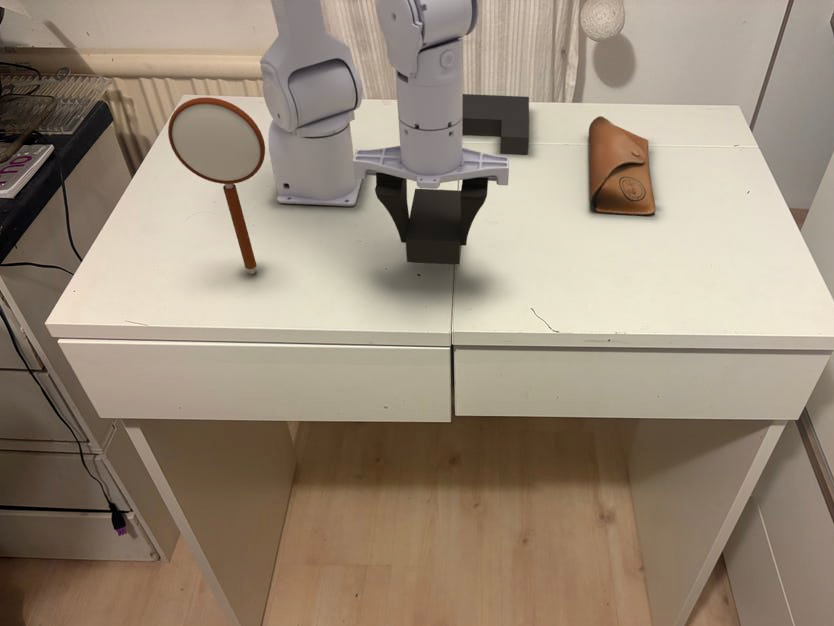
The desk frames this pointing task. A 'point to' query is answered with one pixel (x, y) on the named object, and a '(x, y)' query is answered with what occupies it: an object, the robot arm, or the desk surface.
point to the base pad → (498, 120)
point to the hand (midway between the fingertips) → (434, 238)
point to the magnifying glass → (220, 153)
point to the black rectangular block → (434, 227)
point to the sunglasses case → (619, 170)
